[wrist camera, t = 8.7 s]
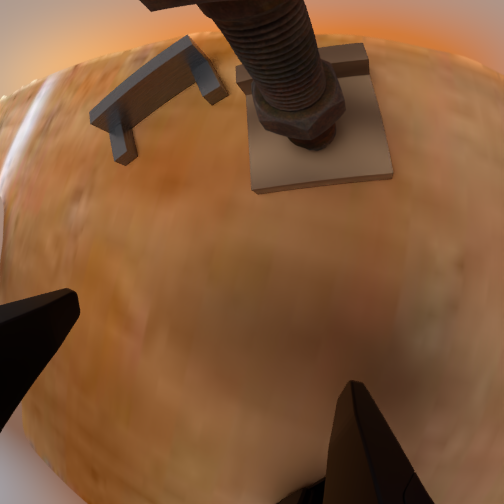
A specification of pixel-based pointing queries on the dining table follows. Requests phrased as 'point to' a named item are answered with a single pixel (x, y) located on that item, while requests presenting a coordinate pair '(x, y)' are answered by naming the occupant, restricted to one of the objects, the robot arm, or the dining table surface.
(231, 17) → the bolt
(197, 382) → the dining table surface
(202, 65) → the socket bracket
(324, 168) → the block
